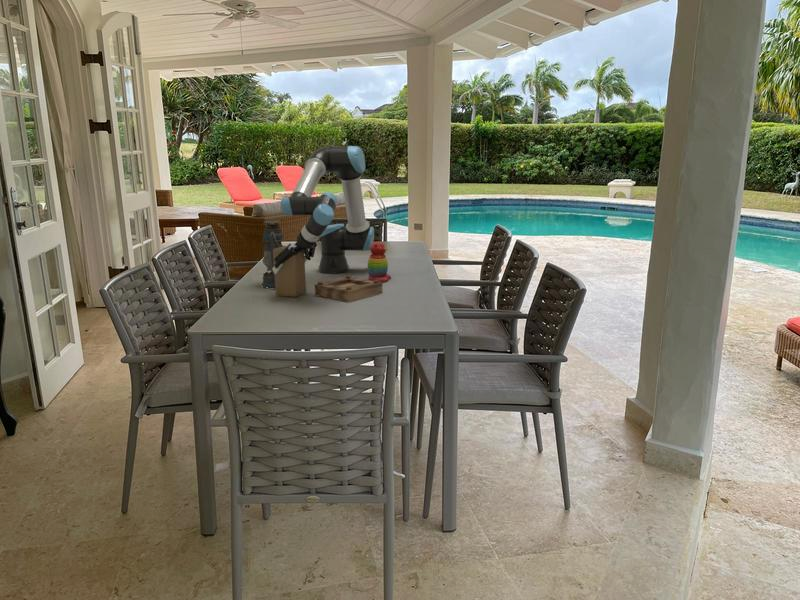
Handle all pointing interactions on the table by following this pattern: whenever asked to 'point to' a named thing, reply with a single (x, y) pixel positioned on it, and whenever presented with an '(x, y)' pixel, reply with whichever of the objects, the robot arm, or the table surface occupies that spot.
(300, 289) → the wooden block
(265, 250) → the lantern
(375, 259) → the stacking bear
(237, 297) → the table surface
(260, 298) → the table surface
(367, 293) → the base plate
